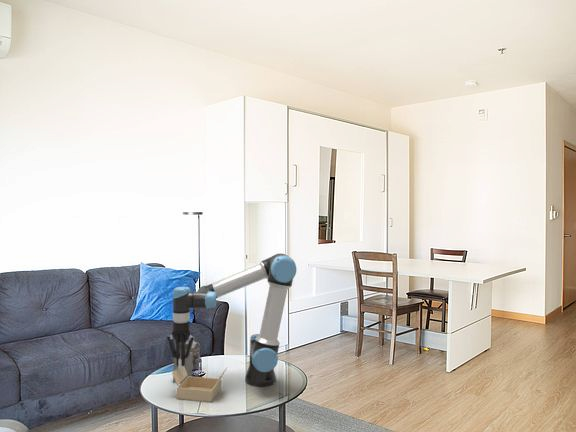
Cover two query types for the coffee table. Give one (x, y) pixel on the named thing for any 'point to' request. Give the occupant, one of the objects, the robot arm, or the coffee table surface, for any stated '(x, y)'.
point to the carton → (198, 389)
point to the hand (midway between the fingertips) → (180, 372)
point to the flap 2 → (219, 378)
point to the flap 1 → (179, 375)
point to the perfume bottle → (187, 365)
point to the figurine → (195, 354)
